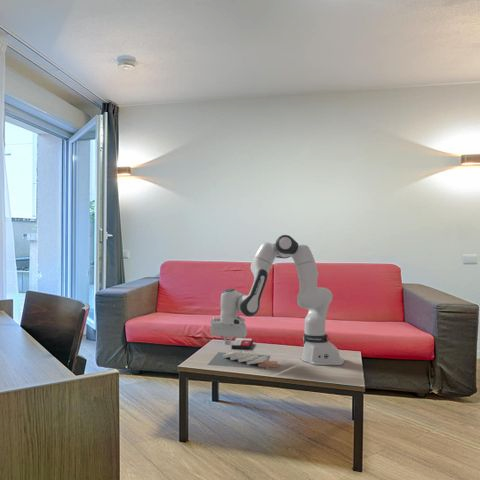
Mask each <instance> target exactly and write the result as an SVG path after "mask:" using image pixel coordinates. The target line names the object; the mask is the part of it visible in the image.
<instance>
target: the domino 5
mask: <svg viewBox="0 0 480 480" xmlns="http://www.w3.org/2000/svg"><path fill="white" fill-rule="evenodd" d="M258 366H259V367H266V368H279V362H278V360H269V361H263V362H259V363H258Z"/></svg>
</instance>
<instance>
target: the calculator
mask: <svg viewBox="0 0 480 480" xmlns="http://www.w3.org/2000/svg"><path fill="white" fill-rule="evenodd" d="M253 343H254V340H253V338H246V337H245V338H237V337H235V339H234V341H233V342H232V343H231V345H230V346H231V350H241V351H251V348H252V346H253Z"/></svg>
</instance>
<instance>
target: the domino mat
mask: <svg viewBox="0 0 480 480" xmlns="http://www.w3.org/2000/svg"><path fill="white" fill-rule="evenodd" d="M228 353H229V352H217V353H216V354H215V356H213V358H211V360H210V361H209V363H207V366H219V367H233V368H246V369H259V370H266V369H267V367H259V366H258V363H254V364H249V365H247V363H246V362H247V361H244V362H238V359H235V360H230V357H227V358H223V356H222V355H224V354H228ZM252 355H253V354H251V353H250V356H252ZM263 356H267V358H268V359H266V360H265V361H270V359H271V355H267V354H266V355H265V354H258V357H263Z"/></svg>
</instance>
